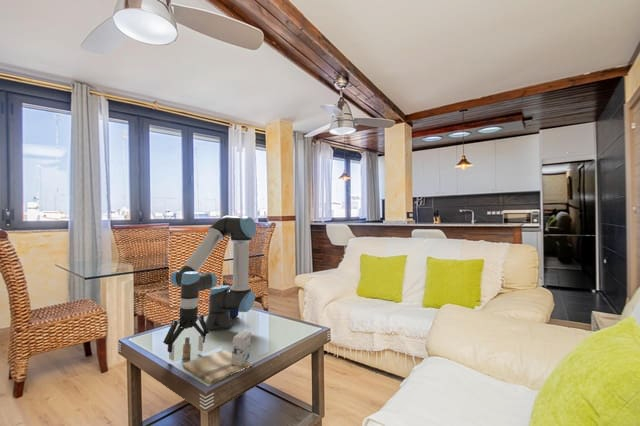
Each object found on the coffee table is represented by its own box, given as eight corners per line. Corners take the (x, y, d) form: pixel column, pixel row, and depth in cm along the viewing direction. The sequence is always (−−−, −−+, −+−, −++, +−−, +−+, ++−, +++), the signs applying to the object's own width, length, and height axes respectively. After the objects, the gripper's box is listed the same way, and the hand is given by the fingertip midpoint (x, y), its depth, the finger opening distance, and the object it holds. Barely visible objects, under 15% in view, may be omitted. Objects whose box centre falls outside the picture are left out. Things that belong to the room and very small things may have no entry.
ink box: (239, 356, 144) (241, 330, 145) (250, 358, 143) (251, 331, 144) (230, 364, 136) (232, 336, 136) (242, 366, 135) (243, 338, 135)
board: (223, 352, 151) (224, 349, 151) (252, 366, 138) (252, 363, 138) (182, 366, 136) (183, 363, 136) (210, 383, 122) (210, 380, 122)
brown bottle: (188, 355, 146) (189, 336, 146) (191, 358, 144) (192, 337, 144) (181, 358, 143) (182, 337, 144) (184, 360, 141) (185, 339, 141)
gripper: (209, 300, 156) (207, 344, 155) (156, 310, 137) (153, 360, 136) (218, 303, 151) (215, 349, 151) (165, 313, 132) (162, 366, 131)
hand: (186, 354), depth 143 cm, fingers open, 13 cm apart
